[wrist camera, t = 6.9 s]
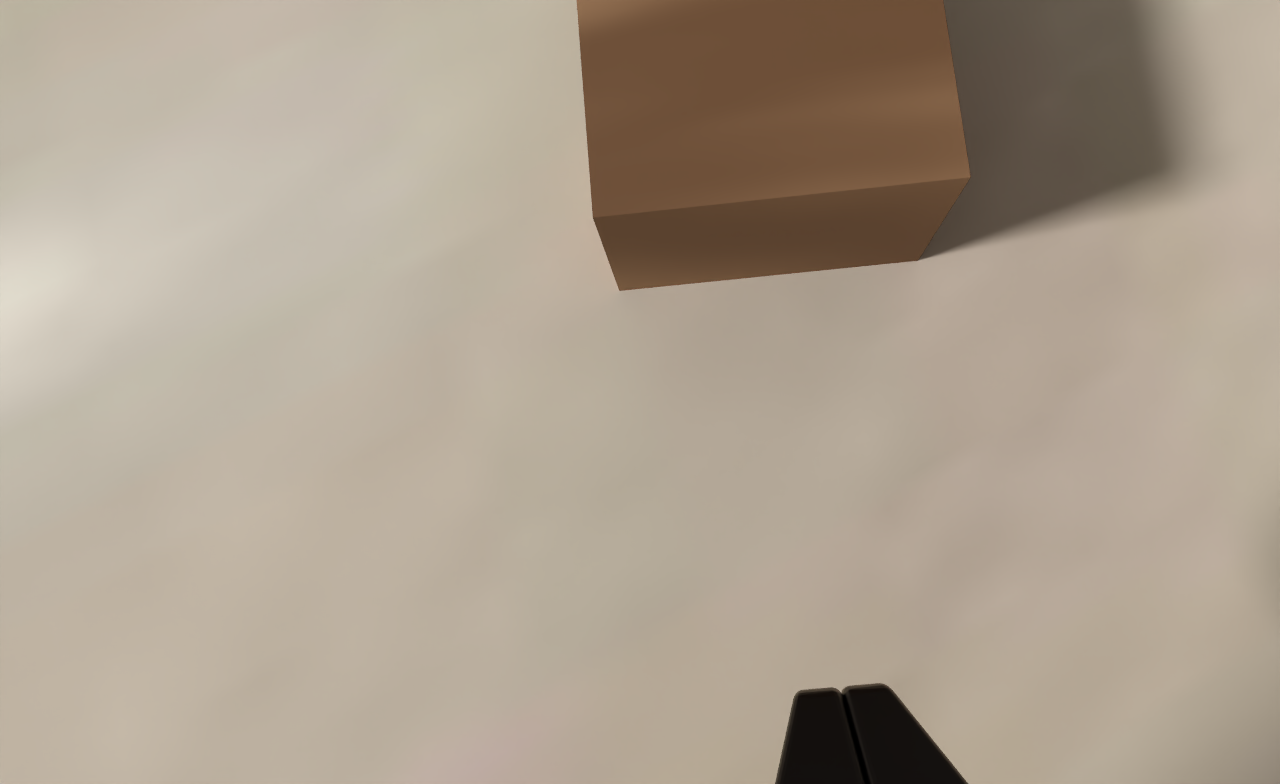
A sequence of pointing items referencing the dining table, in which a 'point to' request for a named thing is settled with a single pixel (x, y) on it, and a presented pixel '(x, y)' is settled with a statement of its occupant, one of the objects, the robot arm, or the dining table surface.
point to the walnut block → (767, 134)
